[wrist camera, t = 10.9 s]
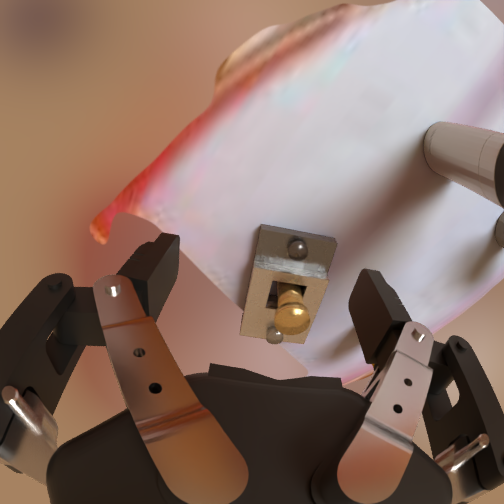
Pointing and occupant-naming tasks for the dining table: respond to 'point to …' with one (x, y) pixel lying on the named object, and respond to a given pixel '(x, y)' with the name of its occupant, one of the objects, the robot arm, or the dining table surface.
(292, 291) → the brass pin
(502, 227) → the coffeepot
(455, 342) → the robot arm
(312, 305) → the slotted plate with knobs
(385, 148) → the dining table surface
